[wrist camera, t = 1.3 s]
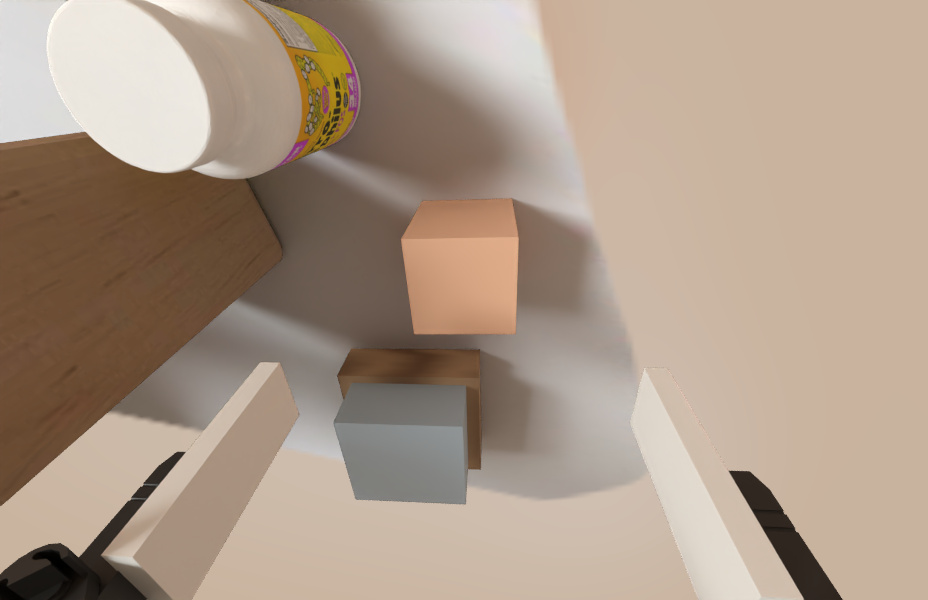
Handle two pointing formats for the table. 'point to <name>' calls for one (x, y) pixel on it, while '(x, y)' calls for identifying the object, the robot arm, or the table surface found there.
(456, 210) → the stack block
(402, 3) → the table surface
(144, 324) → the block
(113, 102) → the supplement bottle
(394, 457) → the block
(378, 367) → the tower base
